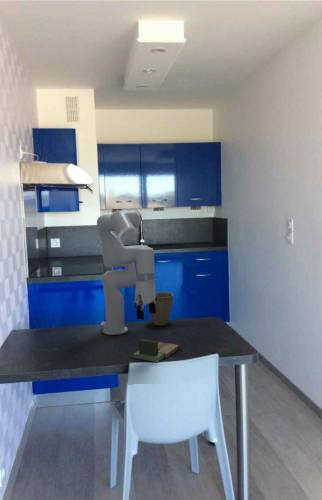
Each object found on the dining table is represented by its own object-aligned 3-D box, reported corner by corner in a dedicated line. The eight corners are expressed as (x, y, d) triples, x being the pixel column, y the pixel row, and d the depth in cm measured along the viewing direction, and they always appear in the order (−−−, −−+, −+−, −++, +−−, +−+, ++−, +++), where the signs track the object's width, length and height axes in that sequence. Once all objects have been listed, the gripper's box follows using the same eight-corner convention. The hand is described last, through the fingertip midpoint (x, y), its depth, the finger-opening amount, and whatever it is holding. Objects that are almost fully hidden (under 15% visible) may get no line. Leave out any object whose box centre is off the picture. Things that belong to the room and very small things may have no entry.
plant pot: (179, 322, 244) (179, 294, 242) (161, 329, 233) (160, 299, 231) (159, 318, 254) (158, 290, 252) (140, 324, 243) (139, 295, 241)
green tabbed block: (133, 357, 192) (132, 340, 191) (144, 351, 200) (143, 334, 199) (157, 362, 186) (157, 344, 186) (167, 355, 194) (167, 338, 193)
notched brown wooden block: (138, 352, 198) (138, 348, 198) (152, 344, 209) (152, 341, 209) (166, 357, 192) (166, 353, 191) (179, 349, 202) (179, 345, 202)
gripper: (148, 272, 199) (149, 310, 202) (126, 279, 184) (127, 320, 187) (163, 273, 195) (164, 312, 198) (142, 281, 181) (143, 322, 183)
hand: (146, 316), depth 192 cm, fingers open, 9 cm apart
